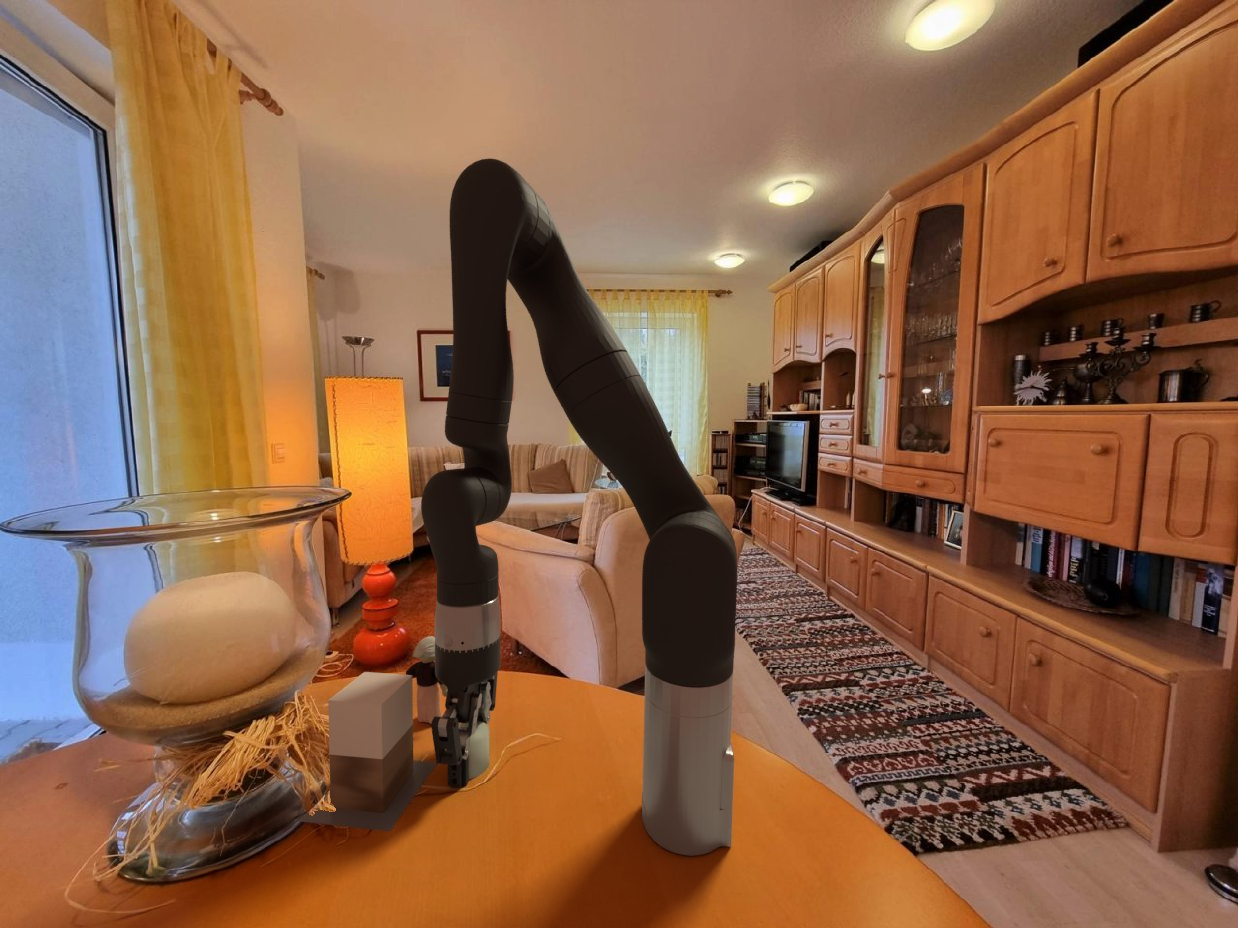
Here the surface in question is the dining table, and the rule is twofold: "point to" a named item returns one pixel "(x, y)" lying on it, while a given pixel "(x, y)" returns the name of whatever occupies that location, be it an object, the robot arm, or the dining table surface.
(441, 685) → the grandmother figurine
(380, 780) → the tower base
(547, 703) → the dining table surface
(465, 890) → the dining table surface
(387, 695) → the tower top
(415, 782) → the coaster
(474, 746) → the drum
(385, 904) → the dining table surface
